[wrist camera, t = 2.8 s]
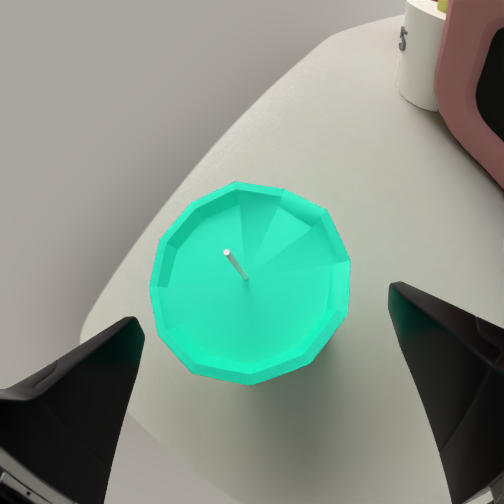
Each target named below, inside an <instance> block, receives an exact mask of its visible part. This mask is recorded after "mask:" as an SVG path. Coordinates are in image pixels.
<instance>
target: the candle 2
mask: <svg viewBox="0 0 504 504" xmlns="http://www.w3.org/2000/svg"><path fill="white" fill-rule="evenodd" d="M448 1H449V0H438V2H435V1H432V0H406V10H405V21H404V27H402V26H401V35H400V37H401V39H402V43H399V48H400V51H401V54H400V61H399V67H398V73H397V79H396V88H397V90H398V92H399V93H400V94H401V95H402V96H403V97H404V98H405V99H406V100H408V101H409V102H411V103H412V104H414V105H416V106H418V107H420V108H423V109H426V110H429V111H436V112H438V111H439V108H438V104H437V100H436V96H435V93H434V80H435V68H436V64H437V59H438V55H439V51H440V46H441V41H442V36H443V31H444V26H445V20H446V14H447V7H448Z"/></svg>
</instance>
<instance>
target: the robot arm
mask: <svg viewBox="0 0 504 504" xmlns="http://www.w3.org/2000/svg"><path fill="white" fill-rule="evenodd" d="M388 310H389V313H390V316H391V319H392V322H393V326H394V329H395V332H396V335H397V339H398V342H399V345H400V348H401V350H402V353H403V355H404V357H405V360H406V362H407V365H408V367H409V369H410V372H411V374H412V377H413V379H414V382H415V384H416V387H417V390H418V392H419V395H420V398H421V400H422V403H423V406H424V408H425V411H426V414H427V417H428V420H429V423H430V426H431V429H432V432H433V435H434V438H435V441H436V444H437V447H438V451H439V453H440V454H439V455H440V458H441V461H442V465H443V469H444V472H445V476H446V480H447V484H448V488H449V492H450V497H451V501H452V504H466V503H468V502H470V501H472V500H474V499H476V498H478V497H480V496H481V495H483V494H485V493H487V492H489V491H490V490H491V493H492V497H493V500H492V501H491V502H489V503H488V504H504V329H503V328H501V327H499V326H496V325H494V324H492V323H490V322H488V321H485V320H483V319H481V318H479V317H476V316H475V315H473V314H471V313H469V312H467V311H465V310H462V309H460V308H458V307H456V306H454V305H452V304H450V303H448V302H445V301H443V300H441V299H439V298H437V297H435V296H432V295H430V294H428V293H426V292H424V291H421V290H419V289H417V288H415V287H413V286H410V285H408V284H406V283H404V282H395V283H391V284H390V285H389V295H388ZM144 341H145V335H144V332H143V330H142V328H141V326H140V324H139V322H138V320H137V318H136V317H134V316H132V317H125V318H123V319H121V320H120V321H118V322H116V323H115V324H113V325H112V326H110V327H108V328H107V329H105V330H104V331H102V332H100V333H99V334H97V335H96V336H94V337H92V338H91V339H89V340H88V341H86V342H84V343H83V344H81V345H80V346H78V347H77V348H75V349H73V350H72V351H70V352H69V353H67V354H65V355H64V356H62V357H61V358H59V359H58V360H56V361H54V362H53V363H52V364H50V365H48V366H47V367H45V368H43V369H42V370H40V371H38V372H36V373H35V374H33V375H31V376H29V377H28V378H26V379H24V380H22V381H20V382H19V383H17V384H15V385H13V386H11V387H9V388H6V389H1V390H0V504H104V500H105V495H106V490H107V485H108V480H109V476H110V472H111V467H112V462H113V458H114V454H115V450H116V446H117V442H118V438H119V435H120V431H121V427H122V424H123V420H124V417H125V413H126V410H127V406H128V403H129V399H130V396H131V393H132V390H133V386H134V383H135V380H136V377H137V373H138V369H139V364H140V359H141V355H142V350H143V346H144Z"/></svg>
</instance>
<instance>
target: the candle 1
mask: <svg viewBox="0 0 504 504" xmlns="http://www.w3.org/2000/svg"><path fill="white" fill-rule="evenodd" d="M350 263H351V261H350V258H349V256H348V254H347V251H346V249H345V247H344V245H343V243H342V240H341V238H340V236H339V234H338V232H337V230H336V227H335V225H334V223H333V221H332V219H331V217H330V215H329V213H328V211H327V210H326V209H324V208H322V207H320V206H318V205H316V204H314V203H312V202H310V201H308V200H306V199H304V198H302V197H300V196H298V195H296V194H294V193H292V192H290V191H287V190H285V189H280V188H274V187H268V186H261V185H255V184H248V183H241V182H233V183H231V184H229V185H227V186H225V187H222V188H220V189H218V190H216V191H214V192H212V193H210V194H208V195H206V196H204V197H202V198H200V199H198V200H196V201H194V202H192V203H191V204H190V205H189V206H188V207H187V208H186V209H185V210H184V212H183V213H182V214H181V215H180V216H179V217H178V219H177V220H176V221H175V222H174V223H173V224H172V226H171V227H170V228H169V229H168V230H167V231H166V233H165V234H164V235H163V236H162V237H161V239H160V240H159V244H158V249H157V253H156V257H155V262H154V266H153V271H152V276H151V280H150V285H149V291H150V297H151V302H152V308H153V313H154V318H155V323H156V328H157V333H158V336H159V337H160V338H161V339H162V340H163V342H164V343H165V344H166V345H167V346H168V347H169V349H170V350H171V351H172V352H173V353H174V354H175V355H176V356H177V358H178V359H179V360H180V361H181V362H182V363H183V364H184V365H185V366H186V367H187V369H188V370H189V371H190V372H191V373H193V374H197V375H202V376H206V377H211V378H215V379H220V380H225V381H230V382H235V383H240V384H245V385H251V386H252V385H255V384H258V383H260V382H263V381H266V380H269V379H272V378H275V377H277V376H280V375H283V374H285V373H288V372H291V371H293V370H296V369H298V368H301V367H303V366H306V365H308V364H310V363H311V362H312V361H313V360H314V358H315V357H316V356H317V355H318V353H319V352H320V351H321V349H322V348H323V347H324V346H325V344H326V343H327V342H328V340H329V339H330V338H331V336H332V335H333V334H334V332H335V331H336V330H337V328H338V327H339V326H340V324H341V323H342V321H343V320H344V319H345V317H346V316H347V314H348V304H349V287H350Z"/></svg>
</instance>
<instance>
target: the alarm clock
mask: <svg viewBox="0 0 504 504" xmlns="http://www.w3.org/2000/svg"><path fill="white" fill-rule="evenodd" d="M434 93H435V96H436V100H437V104H438V108H439V112H440V114H441V115H442V117H443V119H444V121H445V123H446V125H447V127H448V129H449V130H450V132H451V133H452V135H453V136H454V137H455V138H456V139H457V140H458V141H459V143H460V144H461V145H462V146H463V148H464V149H465V150H466V151H467V152H468V153H469V154H470V155H471V156H472V157H473V158H474V159H475V160H476V161H477V162H478V163H479V164H480V165H481V166H482V167H483V168H484V169H485V170H486V171H487V172H488V173H489V174H490V175H491V176H492V177H493V178H494V180H495V181H496V182H497V183H498V184H499V185H500V186H501V187H502V189H503V190H504V0H449V1H448V7H447V14H446V20H445V26H444V31H443V36H442V41H441V46H440V51H439V55H438V59H437V64H436V68H435V80H434Z"/></svg>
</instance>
